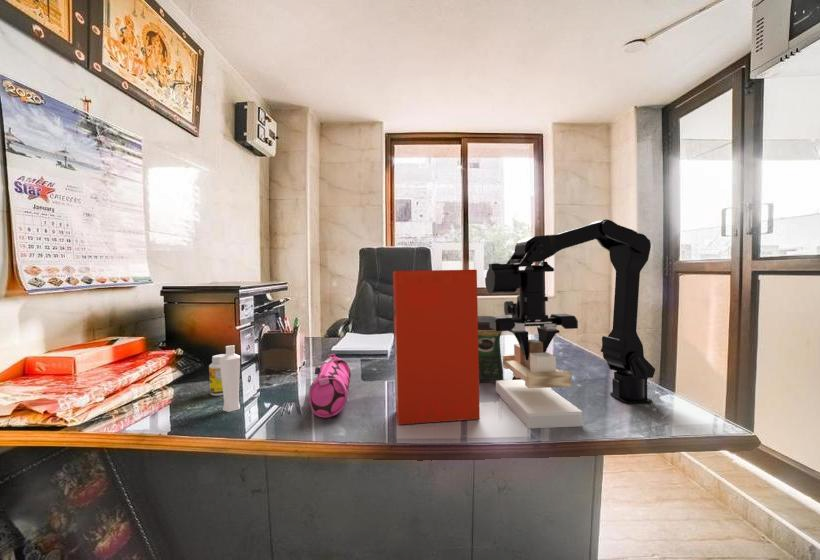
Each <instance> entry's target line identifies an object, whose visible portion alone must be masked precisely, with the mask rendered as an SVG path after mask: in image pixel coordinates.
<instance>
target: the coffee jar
mask: <svg viewBox="0 0 820 560" xmlns="http://www.w3.org/2000/svg"><path fill="white" fill-rule="evenodd" d="M492 316H493V315H478V358H479V383H482V382H483V383H496V381H498V380H503V379H504V369H503V368H504V367H503V358H502V351H501V337H502V333H503V331H495V330H494V329H492V328H490V318H491V317H492Z"/></svg>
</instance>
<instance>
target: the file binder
mask: <svg viewBox="0 0 820 560" xmlns="http://www.w3.org/2000/svg"><path fill="white" fill-rule="evenodd" d="M392 288H393V289H392V291H393V293H392V294H393V337H394V338H393V340H394V341H393V342H394V379H395V380H394V381H395V382H394V385H395V388H394V389H395V390H394V391H395V394H394V395H395V414H396V419H397V424H398V425H411V424H427V423H441V421H442V422H453V421H454V422H455V421H456V420H457V421H465V420H466V421H468V420H469V421H470V419H471V420H479V419H481V418H480V416H481V415H480V381H479V358H478V316H479V313H478V310H479V309H478V270H477V269H440V270H438V269H436V270H435V269H433V270H430V269H429V270H426V269H425V270H394V271H393V272H392Z"/></svg>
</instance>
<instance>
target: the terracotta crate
mask: <svg viewBox="0 0 820 560" xmlns="http://www.w3.org/2000/svg"><path fill="white" fill-rule="evenodd" d="M513 346H514V347H513V349H514V353H513V355H514V360H515V361H516V362H518V363H519V364H524V356H523V353H522V351H521V348H520V345H519V343H514V344H513Z"/></svg>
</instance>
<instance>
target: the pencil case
mask: <svg viewBox="0 0 820 560" xmlns="http://www.w3.org/2000/svg"><path fill="white" fill-rule="evenodd" d="M314 375H317V377H316V379H315V380H314V381H313V382H312V383H311V384H310V386H309V390H308V391H309V392H308V403H309V406H310V409H311V410H312V412H313V414H314V415H316V416H317V417H320V418H332V417H335V416H336V415H338V414H340V413H341V411H343V410H344V408H345V406H346V404H347V403H348V402H347V401H348V395H349V388H350V385H351V377H352V376H351V375H352V373H351V369H350V367H349V365H348V363H347V362H346V361H345V360H343V359H342V358H339V357H337V355H336V353H330V354H327V359H326V360H324V361H323V363H322V365H320V367H317V366H316V367H315V369H314Z"/></svg>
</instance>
